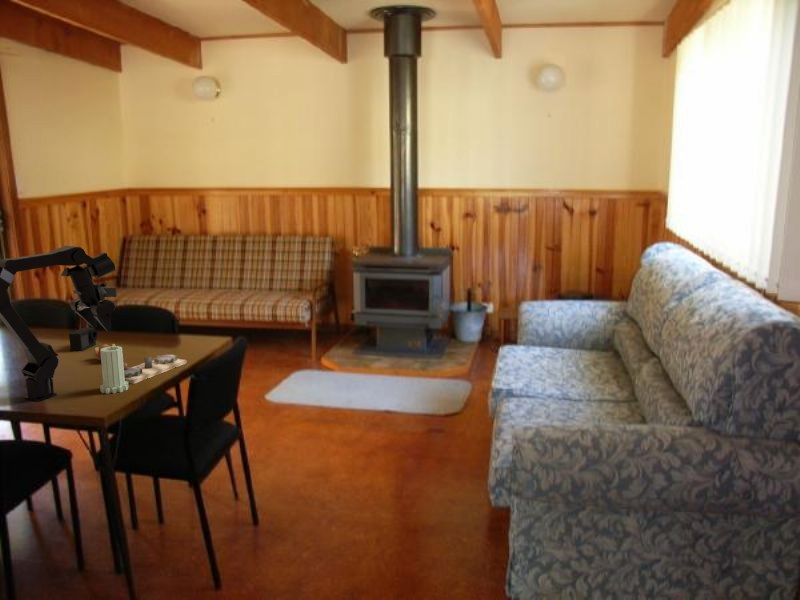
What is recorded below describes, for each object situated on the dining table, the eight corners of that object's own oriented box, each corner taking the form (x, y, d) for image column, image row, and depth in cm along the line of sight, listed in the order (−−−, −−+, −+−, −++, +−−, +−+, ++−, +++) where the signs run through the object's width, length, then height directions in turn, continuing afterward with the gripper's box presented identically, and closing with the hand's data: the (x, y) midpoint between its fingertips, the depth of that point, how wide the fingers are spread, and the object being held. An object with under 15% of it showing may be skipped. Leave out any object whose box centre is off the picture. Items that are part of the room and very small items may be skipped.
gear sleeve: (114, 394, 204) (111, 353, 201) (94, 391, 207) (90, 350, 204) (134, 387, 211) (131, 346, 209) (114, 383, 214) (111, 344, 212)
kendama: (92, 357, 250) (94, 362, 234) (94, 340, 250) (96, 344, 234) (114, 358, 253) (118, 363, 237) (116, 341, 253) (120, 346, 237)
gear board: (134, 383, 214) (132, 369, 213) (107, 379, 218) (106, 365, 217) (186, 363, 237) (185, 350, 236) (162, 359, 241) (161, 347, 240)
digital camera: (84, 352, 252) (82, 333, 250) (70, 351, 252) (68, 333, 251) (99, 344, 262) (97, 327, 260) (85, 344, 262) (84, 327, 261)
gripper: (122, 276, 208) (139, 321, 214) (93, 272, 220) (111, 315, 226) (88, 291, 200) (107, 337, 206) (61, 286, 212) (79, 330, 218)
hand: (102, 329), depth 214 cm, fingers open, 9 cm apart
